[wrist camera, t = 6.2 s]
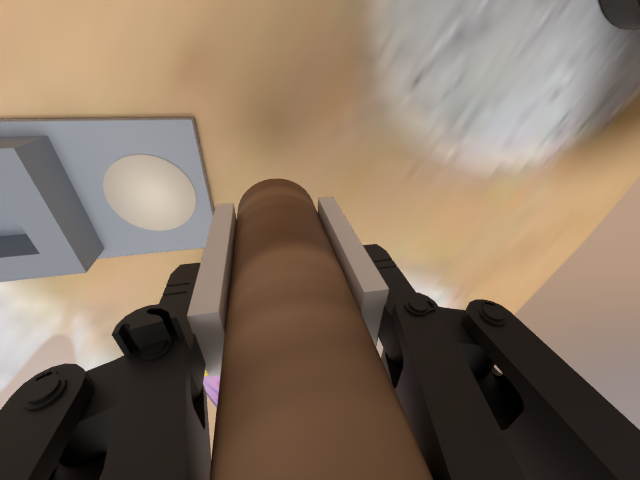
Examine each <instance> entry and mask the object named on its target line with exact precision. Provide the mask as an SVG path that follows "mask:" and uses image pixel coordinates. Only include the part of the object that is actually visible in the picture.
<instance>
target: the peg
mask: <svg viewBox="0 0 640 480" xmlns="http://www.w3.org/2000/svg"><path fill="white" fill-rule="evenodd" d="M209 480H433V477H432V475H431V473H430V470H429V468H428V466H427V463H426V461H425V459H424V457H423V454H422V452H421V450H420V447H419V445H418V443H417V440H416V438H415V436H414V434H413V431H412V429H411V427H410V424H409V422H408V420H407V417H406V415H405V413H404V411H403V408H402V406H401V404H400V401H399V399H398V397H397V394H396V392H395V390H394V388H393V385H392V383H391V381H390V378H389V376H388V374H387V371H386V369H385V367H384V365H383V362H382V360H381V358H380V356H379V353H378V351H377V349H376V346H375V344H374V342H373V339H372V337H371V335H370V332H369V330H368V328H367V326H366V323H365V321H364V319H363V316H362V314H361V312H360V309H359V307H358V305H357V303H356V300H355V298H354V296H353V293H352V291H351V289H350V286H349V284H348V282H347V280H346V277H345V275H344V273H343V270H342V268H341V266H340V263H339V261H338V259H337V257H336V254H335V252H334V250H333V247H332V245H331V243H330V240H329V238H328V236H327V234H326V231H325V229H324V227H323V224H322V222H321V220H320V217H319V215H318V213H317V211H316V208H315V206H314V204H313V201H312V199H311V197H310V195H309V194H308V193H307V191H306V190H305V189H304V188H302V187H301V186H300V185H298V184H296V183H294V182H292V181H289V180H285V179H268V180H264V181H261V182H259V183H257V184H255V185H254V186H252V187H251V188H250V189H248V190H247V191H246V193H245V194H244V195H243V197H242V198H241V200H240V203H239V206H238V213H237V223H236V232H235V242H234V251H233V260H232V270H231V279H230V289H229V298H228V308H227V317H226V327H225V336H224V346H223V355H222V365H221V374H220V384H219V393H218V403H217V412H216V422H215V431H214V440H213V450H212V459H211V469H210V478H209Z"/></svg>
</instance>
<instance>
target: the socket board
mask: <svg viewBox="0 0 640 480" xmlns="http://www.w3.org/2000/svg"><path fill="white" fill-rule="evenodd" d="M213 215H214V209H213V204H212V199H211V195H210V190H209V185H208V181H207V176H206V171H205V166H204V162H203V157H202V152H201V148H200V143H199V138H198V134H197V129H196V124H195V120H194V117H156V118H49V119H0V282H5V281H15V280H24V279H33V278H42V277H51V276H60V275H69V274H78V273H86V272H87V271H88V270H89V268H90V267H91V266H92V264H93V263H94V262H95V261H96V259H99V258H109V257H119V256H129V255H139V254H148V253H158V252H168V251H178V250H188V249H198V248H205V245H206V242H207V238H208V234H209V230H210V226H211V223H212V219H213Z"/></svg>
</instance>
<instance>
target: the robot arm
mask: <svg viewBox="0 0 640 480" xmlns="http://www.w3.org/2000/svg"><path fill="white" fill-rule="evenodd" d="M600 1H601V5H602V9H603V11H604V13H605V15H606V17H607V18H608V19H609V21H610V22H611V23H613V24H614V25H615V26H617V27H619V28H622V29H630V30H633V29H640V0H600ZM318 215H319V217H320V220H321V222H322V224H323V227H324V229H325V231H326V234H327V236H328V238H329V240H330V243H331V245H332V247H333V250H334V252H335V254H336V257H337V259H338V261H339V263H340V266H341V268H342V270H343V273H344V275H345V277H346V280H347V282H348V284H349V286H350V289H351V291H352V293H353V296H354V298H355V300H356V303H357V305H358V307H359V309H360V312H361V314H362V316H363V319H364V321H365V323H366V326H367V328H368V330H369V332H370V335H371V337H372V339H373V342H374V344H375V346H377V341H378V337H379V339H380V341H381V343H382V346H383V353H382V356H381V360H382V362H383V365H384V367H385V369H386V371H387V374H388V376H389V378H390V381H391V383H392V385H393V388H394V390H395V392H396V394H397V397H398V399H399V401H400V404H401V406H402V408H403V411H404V413H405V415H406V417H407V420H408V422H409V424H410V427H411V429H412V431H413V434H414V436H415V438H416V440H417V443H418V445H419V447H420V450H421V452H422V454H423V457H424V459H425V461H426V463H427V466H428V468H429V470H430V473H431V475H432V477H433V480H640V430H639V429H638V428H637V427H636V426H635V425H634V424H632V423H631V422H630V421H629V420H628V419H627V418H626V417H625V416H624V415H623V414H621V413H620V412H619V411H618V410H617V409H616V408H615V407H614V406H613V405H612V404H610V403H609V402H608V401H607V400H606V399H605V398H604V397H603V396H602V395H601V394H599V393H598V392H597V391H596V390H595V389H594V388H593V387H592V386H591V385H590V384H589V383H588V382H586V381H585V380H584V379H583V378H582V377H581V376H580V375H579V374H578V373H577V372H576V371H574V370H573V369H572V368H571V367H570V366H569V365H568V364H567V363H565V361H563V360H562V359H561V358H560V357H559V356H558V355H557V354H556V353H555V352H553V350H551V349H550V348H549V347H548V346H547V345H546V344H545V343H544V342H543V341H542V340H540V339H539V338H538V337H537V336H536V335H535V334H534V333H533V332H532V331H531V330H529V329H528V328H527V327H526V326H525V325H524V324H523V323H522V322H521V321H520V320H519V319H517V318H516V317H515V316H514V315H513V314H512V313H511V312H510V311H508V310H507V309H506V308H504V307H503V306H501V305H499V304H497V303H495V302H492V301H488V300H474V301H471V302H470V303H469V305H468V306H467V308H466V310H459V309H450V308H443V307H438V305H437V304H436V303H435V301H433V300H432V299H431V298H429V297H428V296H426V295H423V294H421V293H416V292H415V291H414V289H413V288H412V286H411V285H410V284H409V282H408V281H407V279H406V278H405V277H404V275H403V274H402V272H401V271H400V270H399V268H398V267H397V265H396V264H395V263H394V261H393V260H392V258H391V257H390V256H389V254H388V253H387V251H386V250H384V249H383V248H381V247H380V246H378V245H377V244H372V245H362V243H361V242H360V240H359V238H358V237H357V235H356V234H355V232H354V230H353V229H352V227H351V225H350V224H349V222H348V220H347V219H346V217H345V215H344V214H343V212H342V210H341V209H340V207H339V205H338V204H337V202H336V201H335V199H334V197H324V198H318ZM236 223H237V220H236V214H235V208H234V203H231V204H216V207H215V211H214V215H213V219H212V223H211V226H210V230H209V234H208V238H207V242H206V245H205V249H204V253H203V257H202V260H201V263H192V264H183V265H180V266H179V267H178V268H177V269H176V270H175V271H174V272H173V273H172V274H171V275H170V277H169V280H168V283H167V285H166V286H167V287H166V288H165V290H164V293H163V296H162V298H161V300H160V303H159V304H157V305H150V306H146V307H143V308H140V309H137V310H135V311H134V312H132V313H130V314H129V315H127V316H125V317H124V318H123V319H122V320H121V321H120V322H119V323H118V324H117V325H116V327H115V329H114V331H113V333H112V336H113V337H114V339H115V341H116V342H117V344H118V345H119V347H120V349H121V350H122V352H123V354H124V356H122V357H120V358H118V359H116V360H114V361H111V362H109V363H106V364H103V365H101V366H98V367H96V368H93V369H91V370H88V371H86V372H85V370H84V369H83V368H82V367H80V366H78V365H77V364H62V365H58V366H54V367H51V368H49V369H47V370H45V371H43V372H41V373H39V374H37V375H35V376H34V377H33V378H31V379H30V380H28V381H27V382H25V383H24V384H23V385H22V386H21V387H20V388H19V389H18V390H17V391H16V392H15V393H14V394H13V395H12V396H11V397H10V398H9V400H8V401H7V402H6V404H5V405H4V406H3V407H2V409H1V410H0V480H209V478H210V469H211V452H210V437H209V423H208V411H207V396H206V390H205V387H204V385H203V380H204V374H205V368H206V371H207V374H208V376H209V377H212V376H218V375H220V374H221V365H222V355H223V346H224V336H225V327H226V317H227V308H228V298H229V289H230V279H231V270H232V260H233V251H234V242H235V232H236ZM494 365H496V366H497V367H498V368H499V369H500V370H501V371H502V373H503V374H502V373H500V372H498V371H497V370H496V369H495V368H494Z"/></svg>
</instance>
